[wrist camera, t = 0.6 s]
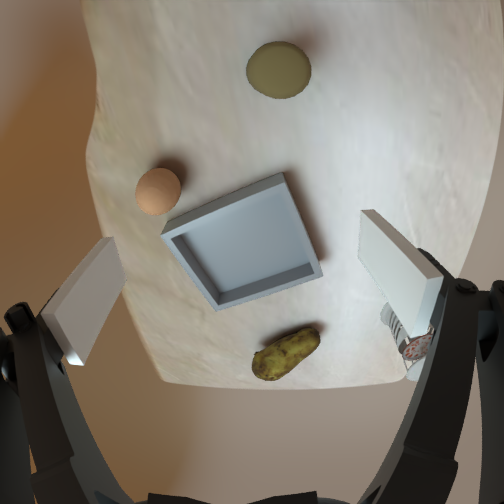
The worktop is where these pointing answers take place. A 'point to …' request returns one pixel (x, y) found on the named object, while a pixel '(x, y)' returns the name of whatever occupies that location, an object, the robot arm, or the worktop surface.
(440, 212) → the worktop surface
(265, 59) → the cork
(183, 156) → the worktop surface
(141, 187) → the egg
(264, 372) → the potato
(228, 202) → the grey bin
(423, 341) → the french press
